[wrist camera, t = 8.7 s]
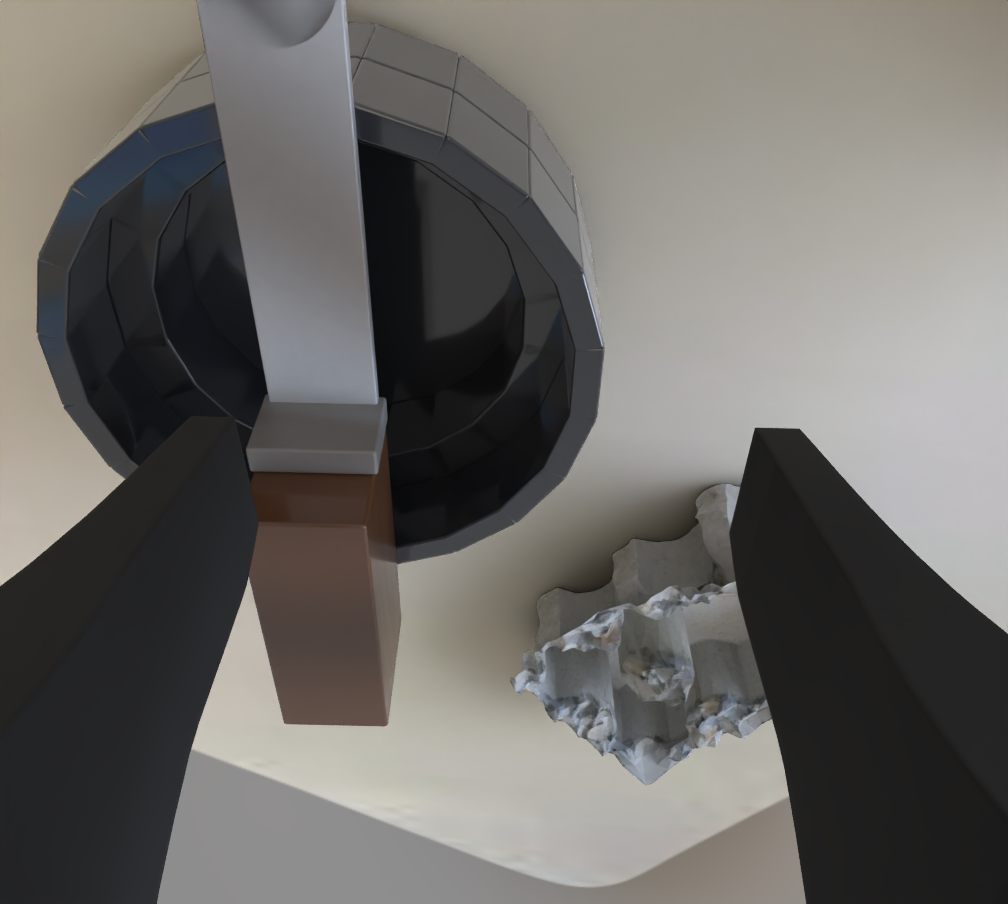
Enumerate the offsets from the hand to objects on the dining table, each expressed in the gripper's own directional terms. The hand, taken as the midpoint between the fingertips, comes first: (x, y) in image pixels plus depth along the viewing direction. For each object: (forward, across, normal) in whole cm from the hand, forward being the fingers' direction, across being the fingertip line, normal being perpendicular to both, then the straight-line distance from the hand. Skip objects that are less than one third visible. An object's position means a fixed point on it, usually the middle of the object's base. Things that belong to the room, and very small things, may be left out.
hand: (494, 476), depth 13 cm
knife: (+5, +4, +2) cm, 7 cm away
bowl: (+10, +4, +2) cm, 11 cm away
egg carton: (+10, -6, +14) cm, 19 cm away
